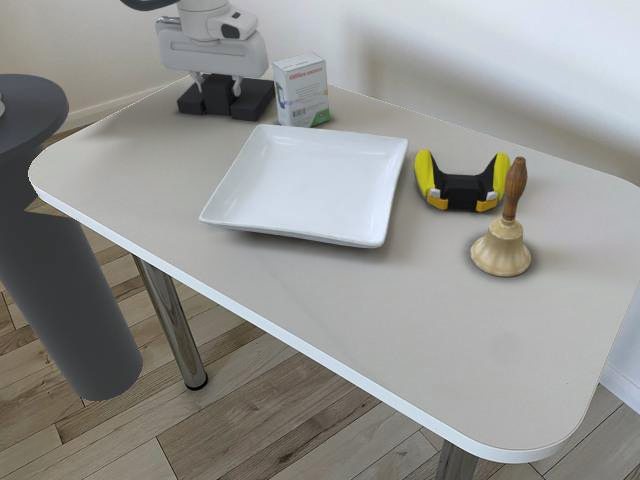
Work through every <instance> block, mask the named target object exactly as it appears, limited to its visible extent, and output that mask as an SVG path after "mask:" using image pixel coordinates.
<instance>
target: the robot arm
mask: <svg viewBox="0 0 640 480" xmlns="http://www.w3.org/2000/svg"><path fill="white" fill-rule="evenodd" d="M119 1H120V2H121V3H122V4H123V5H125V6H126V7H128V8H130V9H132V10H135V11H138V12H151V11H155V10H158V9H162V8H166V7H169V6H172V5H175V4H176V9H177V13H178V16H167V15H161V16H160V17H159V18H157V19H156V20H155V22H154V29H155V32H156V35H157V37H158V48H159V54H160V55H159V56H160V60H161V63H162V65H163V66H164V67H165V68H166V69H167V70H175V71H184V72H185V71H186V72H189V77H190V78H192V80H193V81H194V82H196V83H197V84H198V87H199V91H200V92H201V93H202V90H201V86H200V85H201V84H202V83H203V82H204V81H205V80H204V78H203V77H202V74H201V73H205V74H211V73H214V74H224V75H232V78H233V80H236V82H235V84H232V85H231V86H230V87H229V90H230V92H231V93H230V95H231V96H239V95H240V94H241V89H240V84H241V82H242V79H243V78H253V79H261V78H262V77H263V76H264V75H265V74H266V72H267V71H268V69H269V66H270V64H269V63H270V62H269V55H268V50H267V47H266V42H265V39H264V36H263V35H262V33H261V32H260V31H259V30H258V29H257V28H258V27H259V25H260V21H259V17H258V16H257V15H256V14H255V13H253V12H250V11H247V10H245V9H242V8H240V7H238V6H236V5H234V4H232V3H230V0H119ZM4 111H5V105H4V104H3V102H2V101H1V94H0V117H1V116H2V114H3V113H4Z"/></svg>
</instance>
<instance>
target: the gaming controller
mask: <svg viewBox="0 0 640 480" xmlns="http://www.w3.org/2000/svg"><path fill="white" fill-rule="evenodd" d="M511 165H512V163H511V160H510V157H509V155H508V153H504V152H501V151H499V152H497V153H496V154H495V155H494V157H492V158H491V160H490V161H489V162H488V164H487V166H486V167H485V169H484V170H483V171H482V172H481V173H479V174H457V173H446V172H444V171H442V170H440V169H439V166H438V164H437V162H436V160H435V158H434V156H433V154H432V152H431V151H430V149H428V148H424V149H421V150H419V151H418V152H417V154H416V155H415V158H414V165H413V173H414V177H415V182H416V185H417V188H418V190H419V193H420V195H421V197H422V198H423V200H424V201H426V203H427V204H429V205H431V206H434V207H435V208H437V209H439V210H442V211H444V210H452V211H453V210H456V211H457V210H458V211H474V212H475V211H477V212H479V213H482V212H485V211H487V210H490V209H493V208H496V207H497V205H499V204H500V203H501V202H502V200H503V198H504V196H505V191H504V186H505V179H506V175H507V172H508V170H509V169H510V167H511Z"/></svg>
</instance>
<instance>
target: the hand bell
mask: <svg viewBox="0 0 640 480" xmlns="http://www.w3.org/2000/svg"><path fill="white" fill-rule="evenodd" d="M526 159H527V158H525V157H523V156H516V157H515V158H514V160H513V162H512V163H511V167H510V169H509V170H508V172H507V175H506V179H505V186H504V191H505V193H504V196H505V200H504V201H505V202H504V205H503V209H502V214H501V216H500V217H496V218H494V219H493V220H492V221H491V222H490V223H489V226H488V229H487V231H486V233H485V235H483V236H481V237H479V238H478V239H476V240H475V242H473V244H472V245H471V247H470V251H469V256H470V258H471V262H473V264H474V265H475V266H476V267H477V268H478V269H479V270H481V271H482V272H484V273H486V274H489V275H492V276H496V277H501V278H502V277H503V278H511V277H514V276H519V275H521V274H523V273H524V272H526V271H527V270H528V269H529V267H530V266H531V263H532V255H531V252H530V250H529V248H528V247H527V245H526V244H525V243H524V227H523V225H522V224H521V222H520V221H518V220H517V219H516V214H517V208H518V203H519V200H520V199H521V198H522V196H523V194H524V192H525V190H526V187H527V182H528V169H527V162H526V161H527V160H526Z"/></svg>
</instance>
